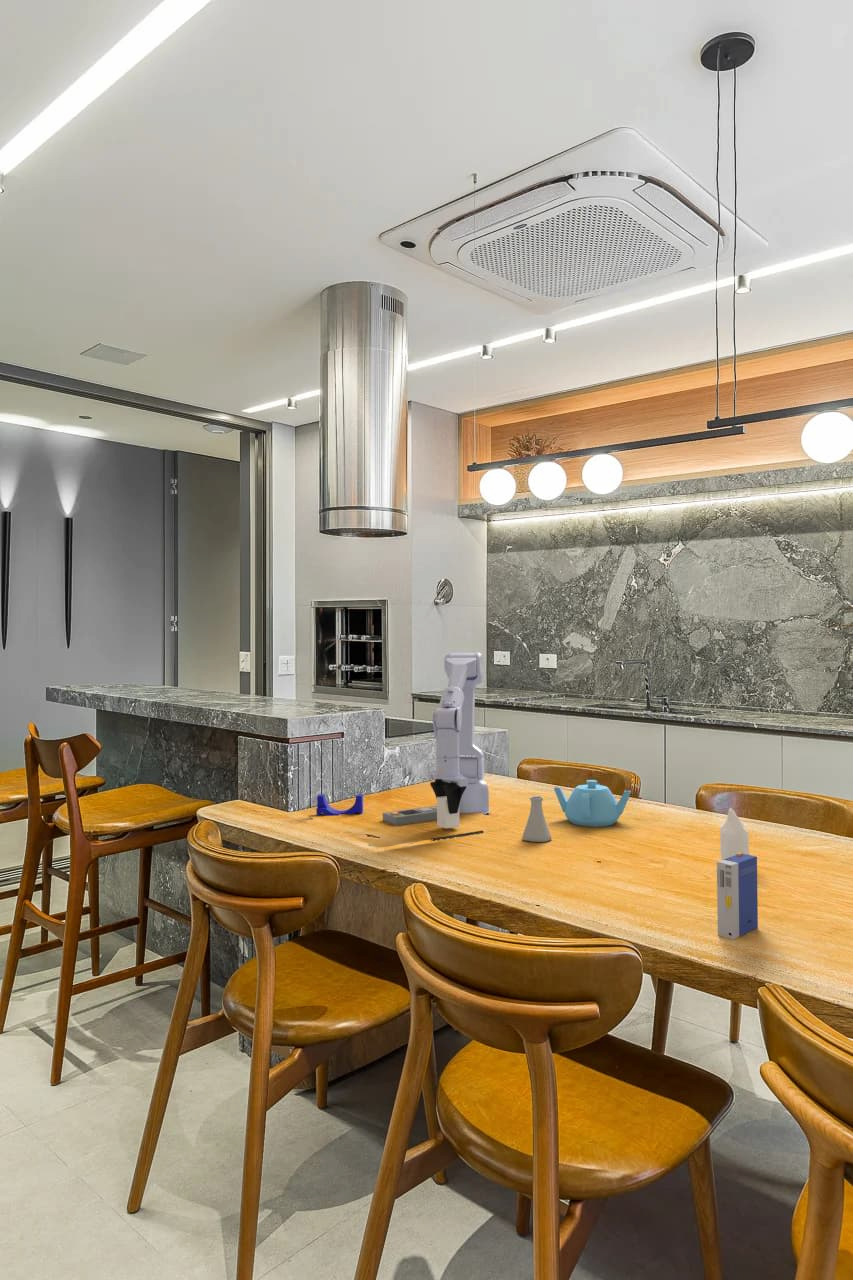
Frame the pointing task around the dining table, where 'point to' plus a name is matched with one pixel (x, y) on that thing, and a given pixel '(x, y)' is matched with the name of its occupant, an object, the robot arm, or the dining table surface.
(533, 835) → the flask
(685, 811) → the dining table surface
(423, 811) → the power strip
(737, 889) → the walkman
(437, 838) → the rubber mat
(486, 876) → the dining table surface
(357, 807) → the blue arch block
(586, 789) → the teapot
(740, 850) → the glue bottle
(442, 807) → the plug
